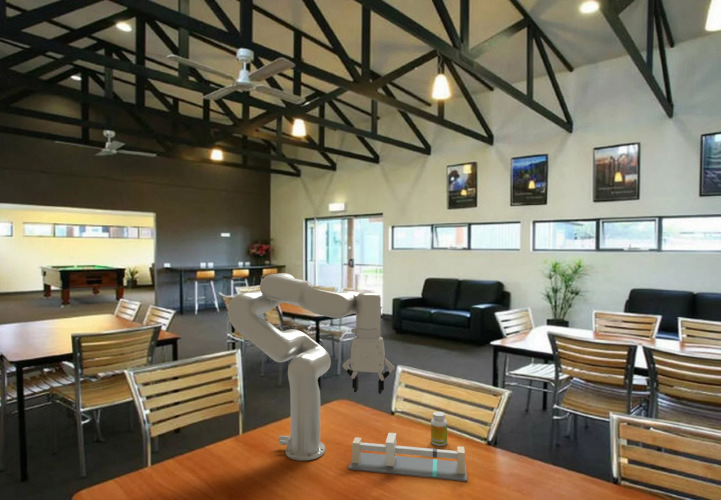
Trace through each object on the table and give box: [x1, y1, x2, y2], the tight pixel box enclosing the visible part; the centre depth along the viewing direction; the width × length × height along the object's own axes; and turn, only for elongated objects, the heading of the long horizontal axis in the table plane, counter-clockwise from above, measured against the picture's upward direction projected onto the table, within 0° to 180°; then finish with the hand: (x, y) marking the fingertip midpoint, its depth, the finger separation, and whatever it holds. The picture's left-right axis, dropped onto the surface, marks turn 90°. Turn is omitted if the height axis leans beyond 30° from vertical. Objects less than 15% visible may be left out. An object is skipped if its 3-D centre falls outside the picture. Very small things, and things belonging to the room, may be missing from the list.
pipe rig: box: [348, 436, 468, 482], centre depth 125 cm, size 34×10×6 cm, turn 79°
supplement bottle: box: [430, 411, 448, 447], centre depth 141 cm, size 5×5×10 cm
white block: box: [385, 432, 397, 466], centre depth 126 cm, size 2×7×7 cm, turn 169°
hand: (368, 391), depth 128 cm, fingers open, 6 cm apart
